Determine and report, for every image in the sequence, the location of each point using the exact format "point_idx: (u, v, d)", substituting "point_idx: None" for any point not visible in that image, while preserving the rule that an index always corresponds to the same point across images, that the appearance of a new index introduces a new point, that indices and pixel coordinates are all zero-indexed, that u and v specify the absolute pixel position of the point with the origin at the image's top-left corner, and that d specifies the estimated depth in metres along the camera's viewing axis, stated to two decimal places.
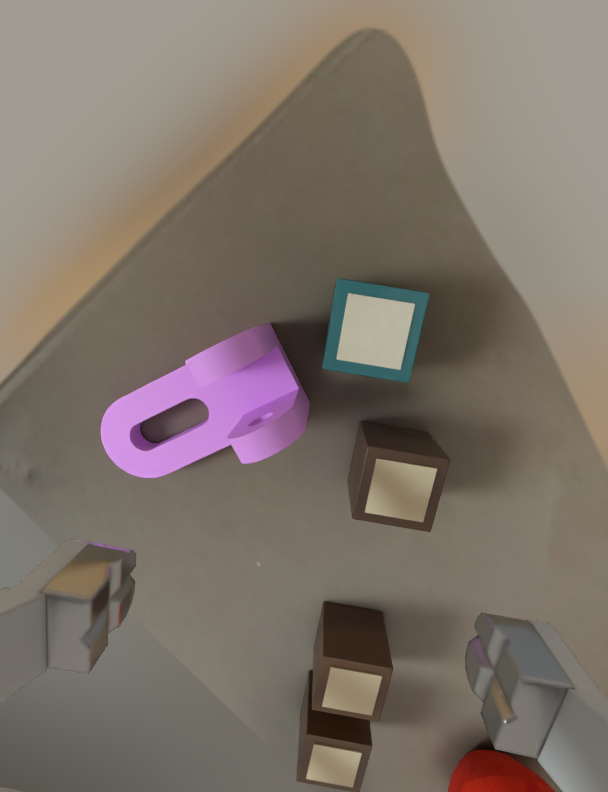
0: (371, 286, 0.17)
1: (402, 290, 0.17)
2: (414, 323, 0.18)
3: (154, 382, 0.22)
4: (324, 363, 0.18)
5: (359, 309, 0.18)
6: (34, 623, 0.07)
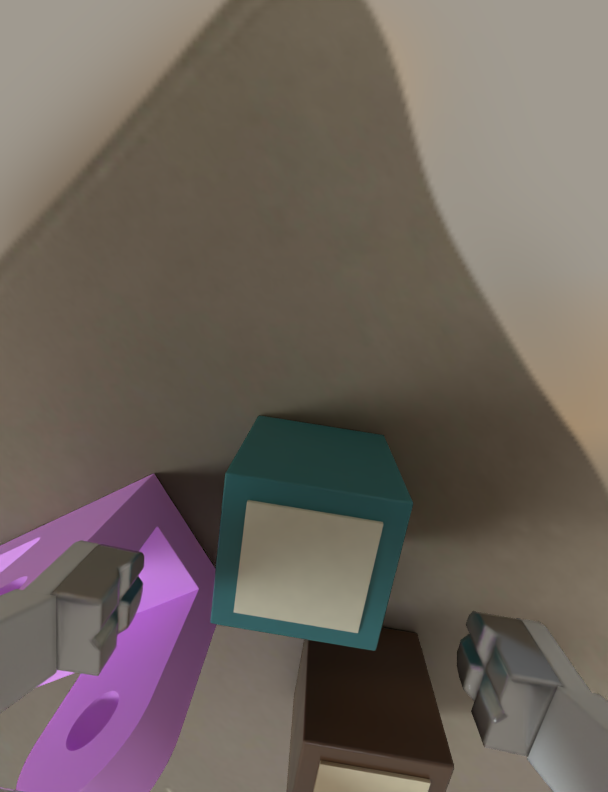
0: (294, 488, 0.09)
1: (357, 497, 0.08)
2: (383, 555, 0.09)
3: None
4: (212, 614, 0.10)
5: (270, 531, 0.09)
6: (45, 625, 0.07)
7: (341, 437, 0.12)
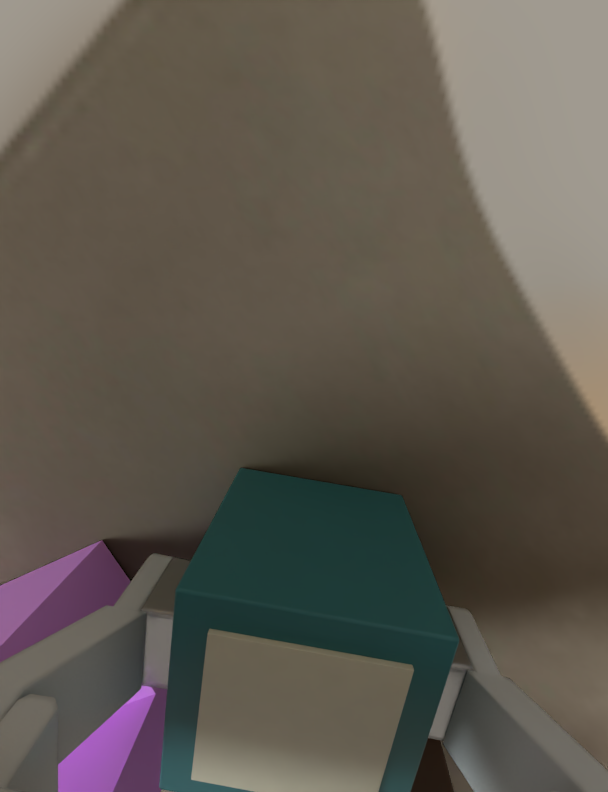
0: (279, 613, 0.06)
1: (374, 630, 0.06)
2: (412, 711, 0.06)
3: None
4: (162, 778, 0.07)
5: (243, 675, 0.06)
6: (136, 641, 0.07)
7: (347, 503, 0.09)
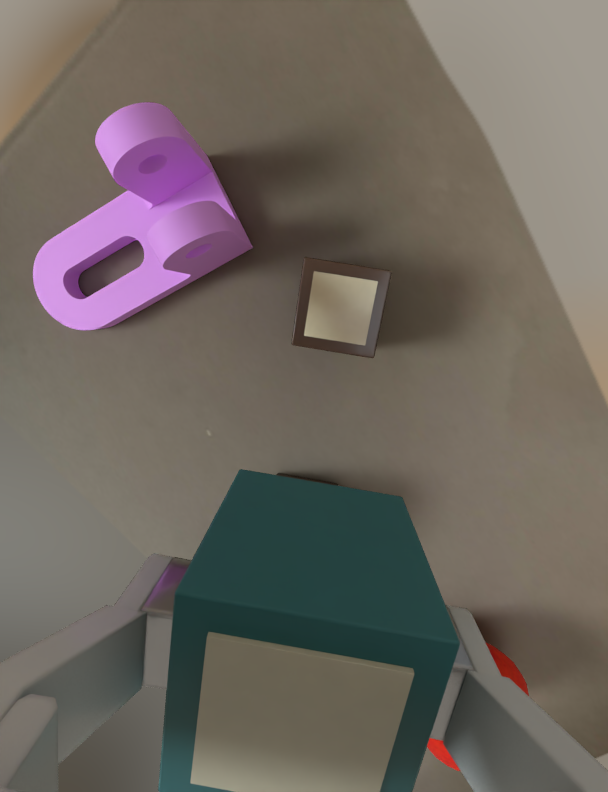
0: (278, 617, 0.06)
1: (374, 633, 0.06)
2: (412, 714, 0.06)
3: (85, 218, 0.21)
4: (161, 781, 0.07)
5: (242, 678, 0.06)
6: (136, 642, 0.07)
7: (347, 505, 0.09)
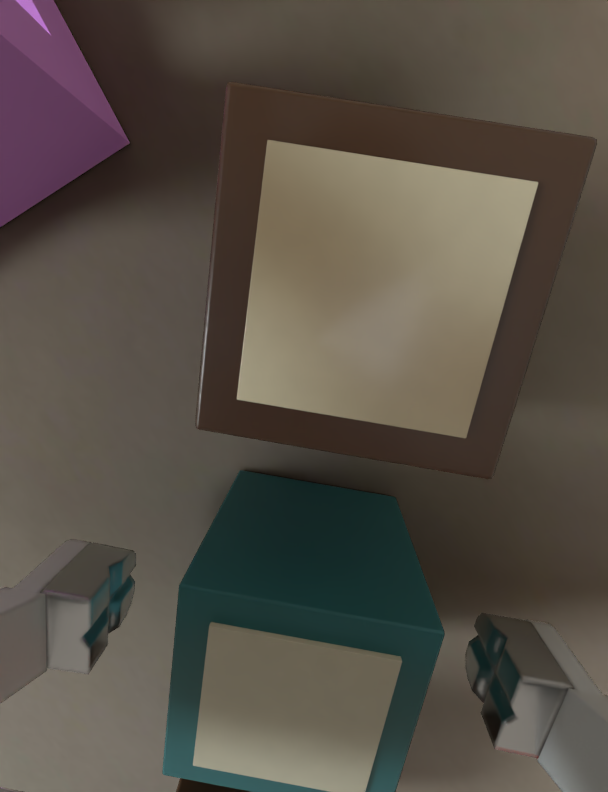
0: (275, 608, 0.06)
1: (365, 624, 0.06)
2: (400, 700, 0.06)
3: None
4: (165, 764, 0.07)
5: (242, 665, 0.06)
6: (34, 623, 0.07)
7: (342, 504, 0.09)
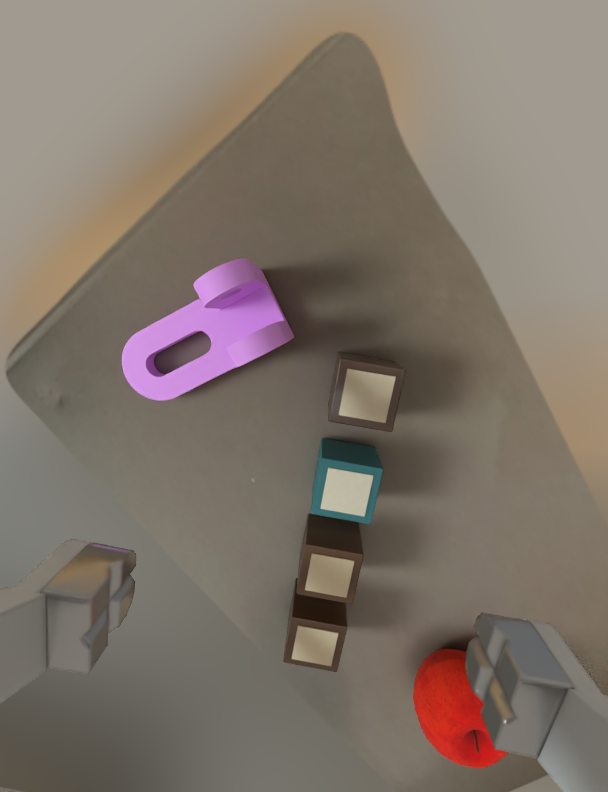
0: (344, 463, 0.26)
1: (364, 466, 0.26)
2: (373, 487, 0.26)
3: (166, 317, 0.27)
4: (312, 510, 0.27)
5: (335, 478, 0.26)
6: (34, 623, 0.07)
7: (357, 447, 0.29)
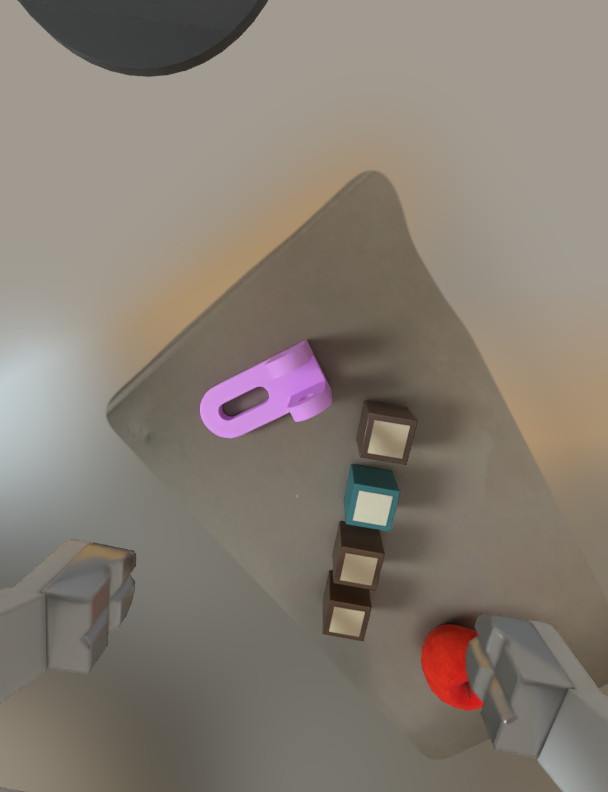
0: (371, 487, 0.35)
1: (386, 489, 0.35)
2: (392, 504, 0.35)
3: (235, 377, 0.36)
4: (346, 521, 0.36)
5: (364, 498, 0.35)
6: (34, 623, 0.07)
7: (379, 472, 0.38)
